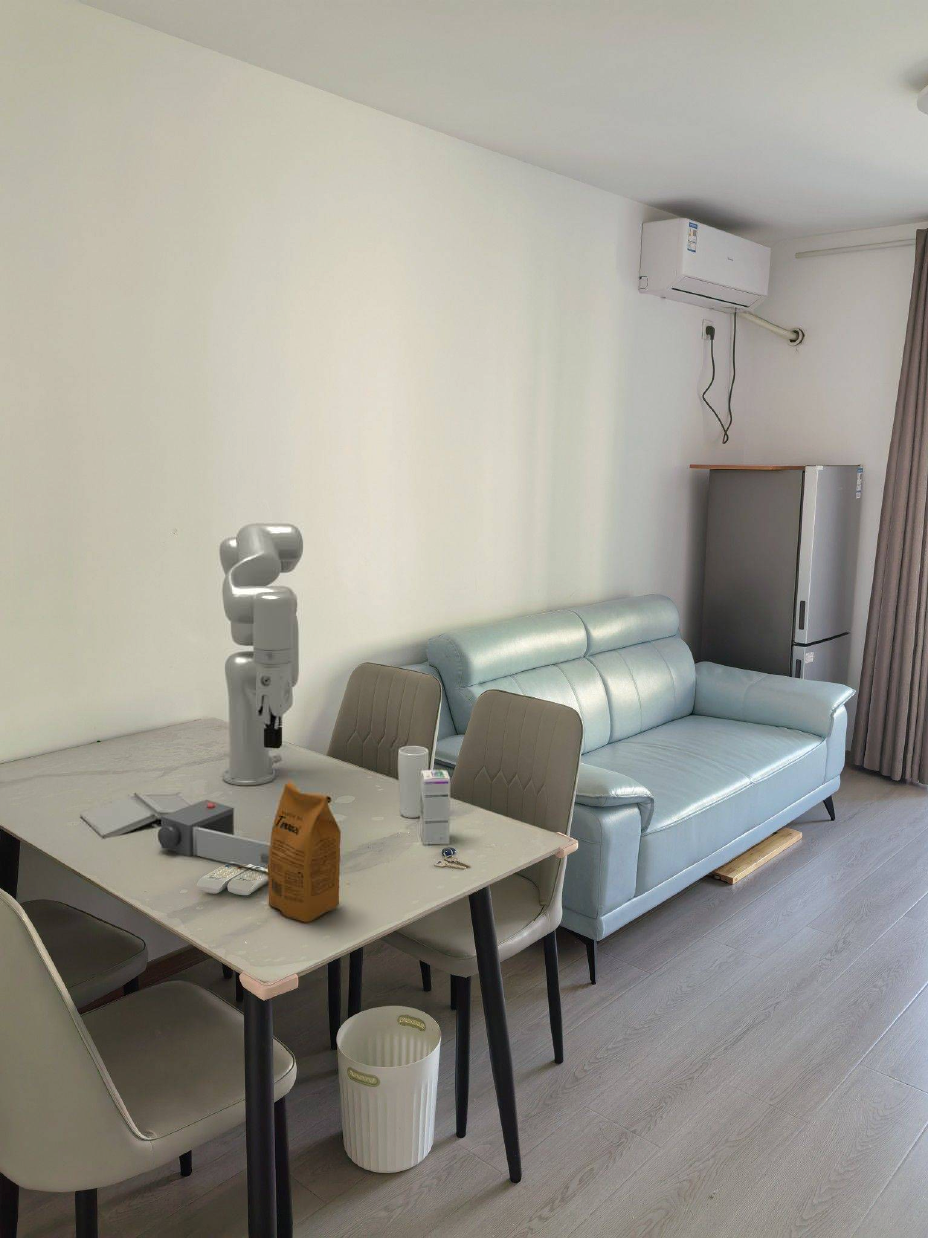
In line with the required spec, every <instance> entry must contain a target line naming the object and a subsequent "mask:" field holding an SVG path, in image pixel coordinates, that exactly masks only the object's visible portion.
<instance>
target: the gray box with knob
mask: <svg viewBox="0 0 928 1238" xmlns="http://www.w3.org/2000/svg"><path fill="white" fill-rule="evenodd" d="M195 803H196V804H193V805H190V806H188V807H185V808H182V809H179V810H177V811H174V812H171V813H169V814H166V815H163V816H161V819H160V820H161V821H160V825H161V826H160V827H161V828H160V829H159V830H158V832H157V839H158V841H159V844H160V846H161V847H162V848H163V849H165V850H169V851H172V852H175V853H177V854H181V855H184V856H186V857H192V856H194V855H193V827H199V828H204V829H208V830H213V831H217V832H222V833H226V834H230V835H235V821H234V820H235V814H234V813H235V807H233V806H229V805H226V804H223V803H219V802H216V801H212V800H209V799H204V800H202V801H199V802H195Z"/></svg>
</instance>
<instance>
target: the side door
mask: <svg viewBox="0 0 928 1238" xmlns="http://www.w3.org/2000/svg"><path fill="white" fill-rule="evenodd" d="M270 843H271V842H265V841H261V840H256V839H252V838H248V837H243V836H238V835H235V834H234V835H230V834H226V833H222V832H217V831H213V830H208V829H204V828H199V827H193V855H192V856H198V857H202V858H207V859H211V860H215V861H220V862H223V863H228V864H231V862H238V863H242V864H252V865H255V866H260V867H263V868H265V869H268V860H269V851H270Z"/></svg>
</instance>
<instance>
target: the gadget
mask: <svg viewBox="0 0 928 1238" xmlns="http://www.w3.org/2000/svg"><path fill="white" fill-rule="evenodd" d="M196 803H197V802H195V801H193V800H192V799H191V798H189V797H188V796H187V795H186V794H184V793H183V792H181V791H175V792H174V791H173V792H172V791H169V792H167V791H166V792H165V791H164V792H163V791H161V792H158V791H156V792H134V795H133V796H131V794H126V795H123V796H121V797H119V798H116V799H114V800H111V801H108V802H105V803H104V804H101V805H98V806H95V807H93V808H91V809H87V810H86V811H84V812H81V813H79V815H80V818H81V819H82V820H83V821H85V823H87V825H89V826H90V827H91V828H92V829H93V830H94V831H95V832H96V833H98V835H99V836H100V837H101V838H102V839H108V838H109V839H110V838H113V837H119V836H121V835H123V834H126V833H128V832H129V833H130V832H131V831H134V830H135V829H137V828H138V829H139V828H140V827H142V826H145V825H148V824H151V823H152V822H154V821H156V820H161V816H163V815H166V814H169V813H171V812H174V811H177V810H179V809H182V808H185V807H188V806H190V805H193V804H196Z"/></svg>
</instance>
